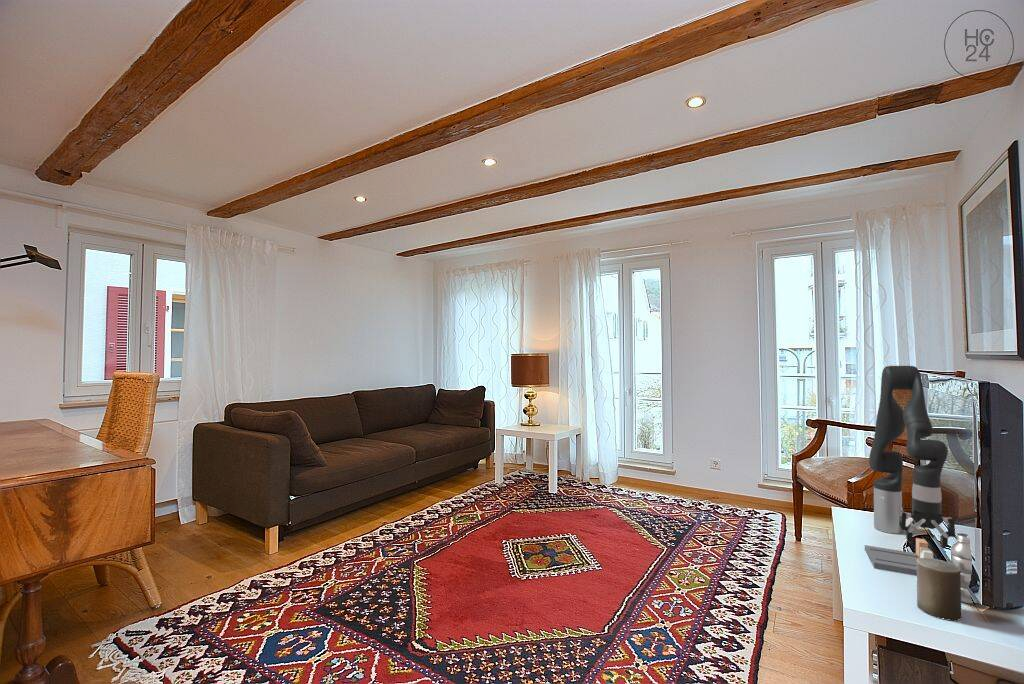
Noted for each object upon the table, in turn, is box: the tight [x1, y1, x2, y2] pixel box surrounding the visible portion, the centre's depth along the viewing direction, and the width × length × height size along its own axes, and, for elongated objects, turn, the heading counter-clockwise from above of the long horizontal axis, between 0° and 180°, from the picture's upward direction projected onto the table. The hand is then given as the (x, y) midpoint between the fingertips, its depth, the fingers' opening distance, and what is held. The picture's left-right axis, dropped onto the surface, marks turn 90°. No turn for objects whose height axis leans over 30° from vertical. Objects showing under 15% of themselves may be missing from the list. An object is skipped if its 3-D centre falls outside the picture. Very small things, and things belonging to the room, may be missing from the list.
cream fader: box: [920, 547, 934, 559], centre depth 159 cm, size 2×4×6 cm, turn 153°
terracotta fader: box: [915, 537, 929, 558], centre depth 167 cm, size 2×4×6 cm, turn 152°
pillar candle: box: [916, 558, 962, 621], centre depth 137 cm, size 10×10×15 cm
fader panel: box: [864, 544, 936, 577], centre depth 166 cm, size 20×16×2 cm
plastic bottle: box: [950, 532, 974, 605], centre depth 142 cm, size 6×7×20 cm
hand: (926, 545), depth 160 cm, fingers open, 8 cm apart
